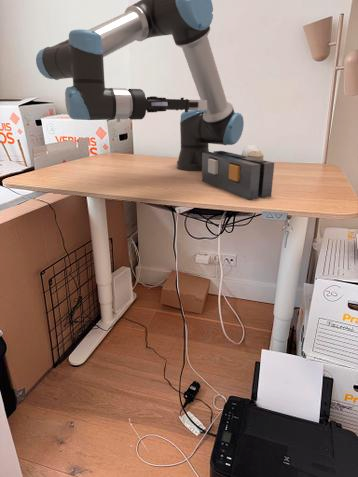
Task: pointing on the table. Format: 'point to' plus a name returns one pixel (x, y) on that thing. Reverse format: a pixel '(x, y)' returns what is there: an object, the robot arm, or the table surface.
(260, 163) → the dark grey button box
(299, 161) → the table surface
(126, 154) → the table surface
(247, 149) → the light bulb
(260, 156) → the candle
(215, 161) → the white button
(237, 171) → the orange button
